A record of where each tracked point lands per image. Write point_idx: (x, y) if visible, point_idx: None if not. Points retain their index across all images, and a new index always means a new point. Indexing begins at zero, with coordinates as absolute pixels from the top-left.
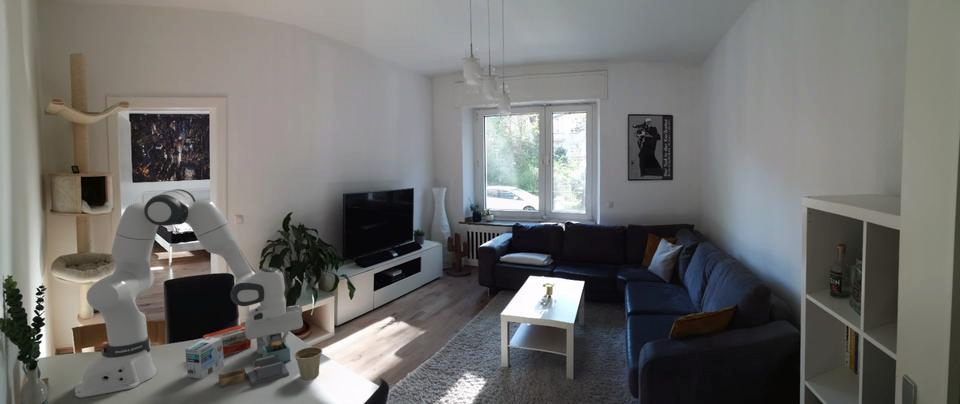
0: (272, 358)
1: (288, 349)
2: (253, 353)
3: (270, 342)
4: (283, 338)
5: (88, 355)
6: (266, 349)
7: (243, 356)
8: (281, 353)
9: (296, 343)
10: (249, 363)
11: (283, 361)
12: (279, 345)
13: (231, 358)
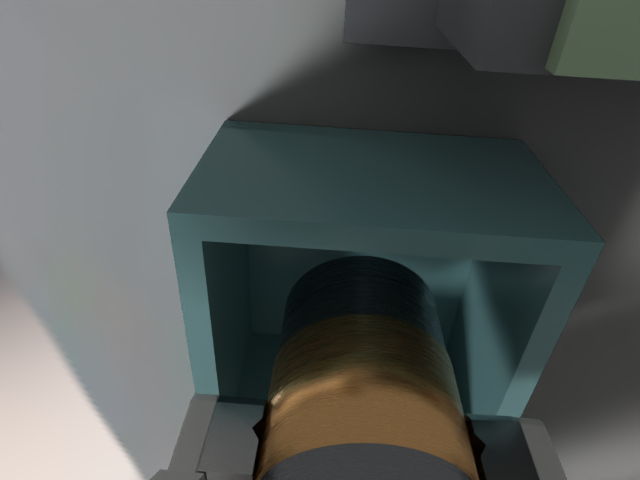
0: None
1: (196, 204)
2: None
3: (478, 477)
4: (212, 477)
5: None
6: None
7: None
8: (329, 193)
9: (122, 424)
10: (601, 333)
11: (314, 132)
12: (326, 351)
13: (634, 474)
